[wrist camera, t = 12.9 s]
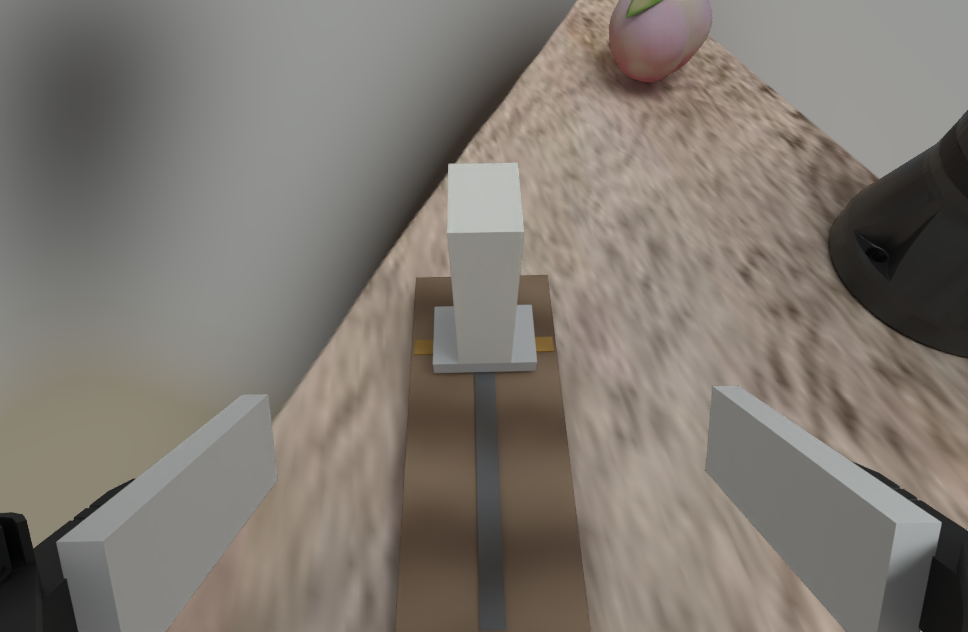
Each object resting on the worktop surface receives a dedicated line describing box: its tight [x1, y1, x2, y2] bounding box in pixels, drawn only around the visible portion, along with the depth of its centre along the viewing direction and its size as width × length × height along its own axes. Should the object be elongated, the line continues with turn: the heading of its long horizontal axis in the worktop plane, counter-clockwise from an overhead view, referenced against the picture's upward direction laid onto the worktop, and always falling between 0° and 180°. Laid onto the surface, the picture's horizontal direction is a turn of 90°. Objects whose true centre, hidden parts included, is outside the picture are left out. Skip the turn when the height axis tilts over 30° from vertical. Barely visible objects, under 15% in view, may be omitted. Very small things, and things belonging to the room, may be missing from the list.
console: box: [395, 275, 590, 632], centre depth 29 cm, size 22×9×2 cm, turn 2°
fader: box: [433, 163, 537, 373], centre depth 26 cm, size 4×6×12 cm, turn 92°
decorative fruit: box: [609, 0, 712, 82], centre depth 46 cm, size 9×8×10 cm
